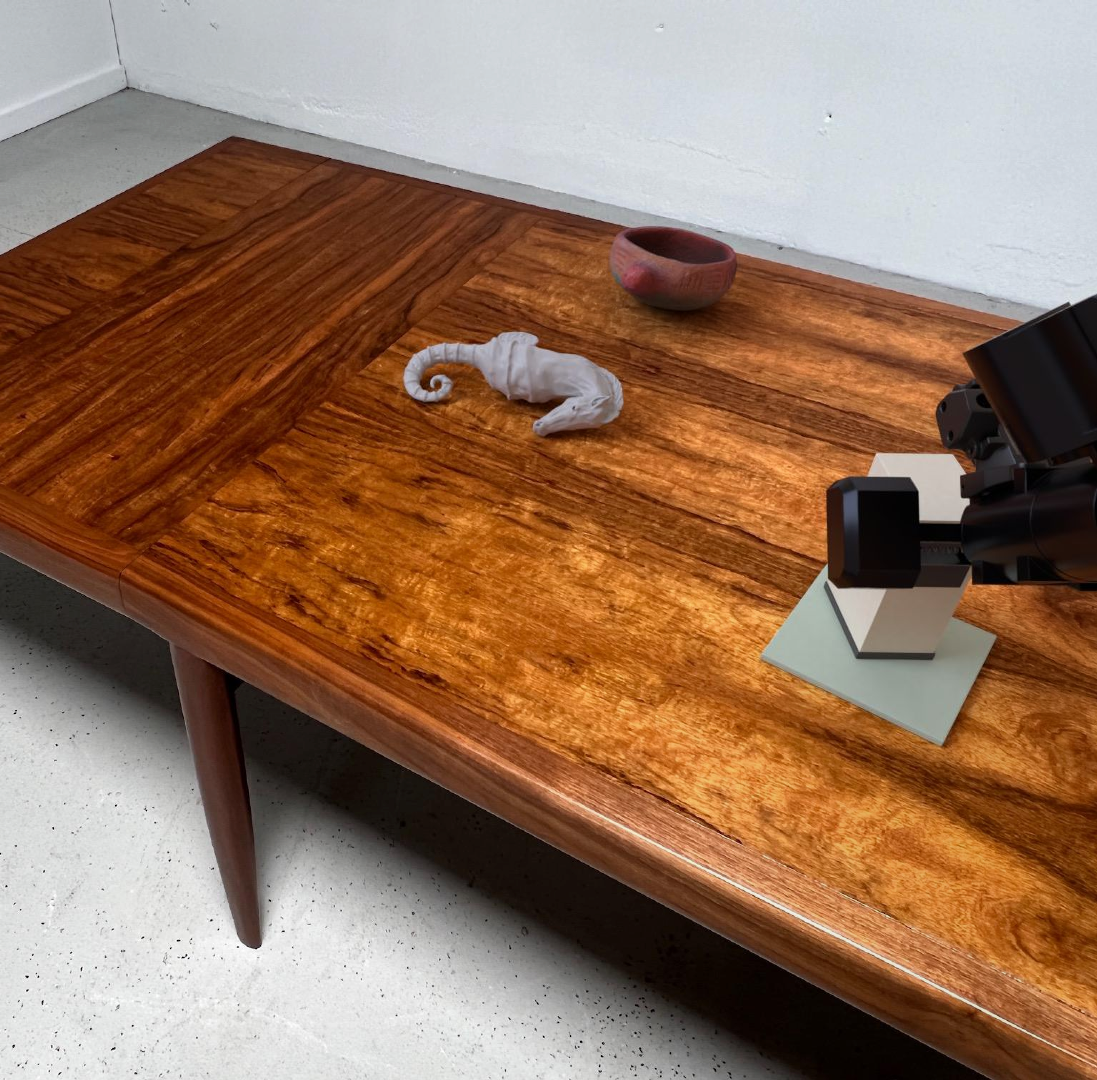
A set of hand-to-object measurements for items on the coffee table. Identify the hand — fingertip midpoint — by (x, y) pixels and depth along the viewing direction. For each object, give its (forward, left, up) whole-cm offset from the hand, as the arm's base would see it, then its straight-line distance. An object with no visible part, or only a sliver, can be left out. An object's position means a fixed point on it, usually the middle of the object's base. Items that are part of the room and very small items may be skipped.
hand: (925, 546), depth 67 cm
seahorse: (+37, -9, -9) cm, 39 cm away
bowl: (+34, -34, -9) cm, 49 cm away
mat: (0, +1, -9) cm, 9 cm away
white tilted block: (+1, -1, -8) cm, 9 cm away
